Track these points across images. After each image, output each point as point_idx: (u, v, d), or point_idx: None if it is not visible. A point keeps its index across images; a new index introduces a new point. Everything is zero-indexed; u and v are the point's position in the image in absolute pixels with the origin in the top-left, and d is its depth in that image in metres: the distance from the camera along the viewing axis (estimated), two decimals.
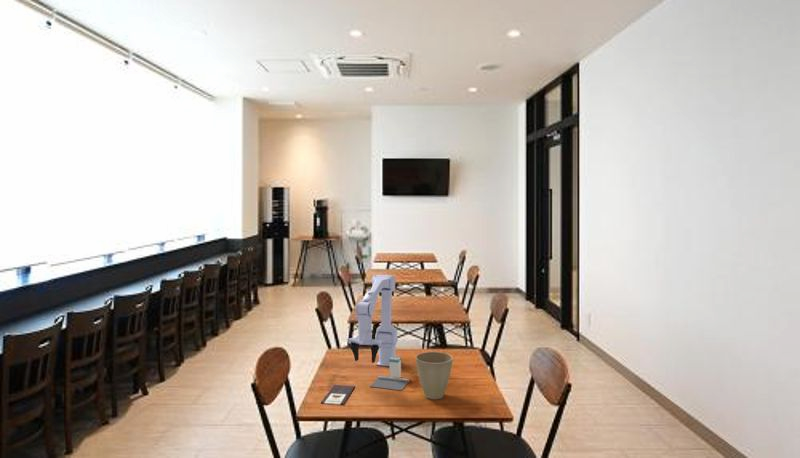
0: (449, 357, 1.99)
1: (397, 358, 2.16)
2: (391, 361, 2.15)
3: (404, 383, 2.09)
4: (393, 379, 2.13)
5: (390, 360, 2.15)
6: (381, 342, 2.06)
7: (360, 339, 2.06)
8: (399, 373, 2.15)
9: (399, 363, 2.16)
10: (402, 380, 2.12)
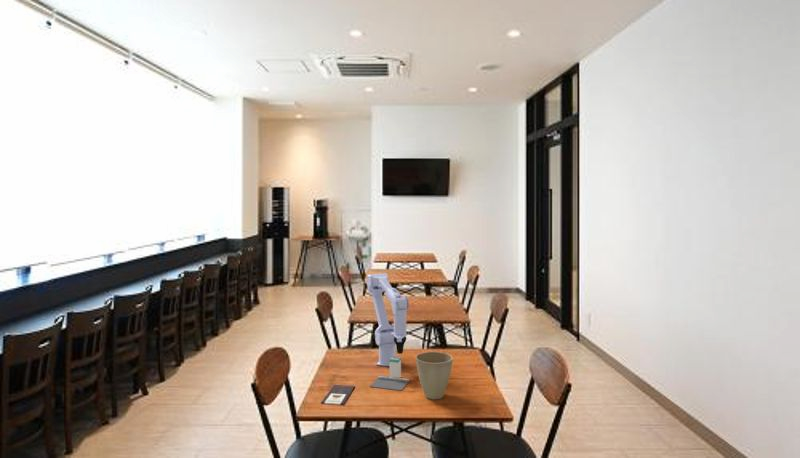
0: (449, 357, 1.99)
1: (397, 358, 2.16)
2: (391, 361, 2.15)
3: (404, 383, 2.09)
4: (393, 379, 2.13)
5: (390, 360, 2.15)
6: (400, 339, 2.15)
7: None
8: (399, 373, 2.15)
9: (399, 363, 2.16)
10: (402, 380, 2.12)
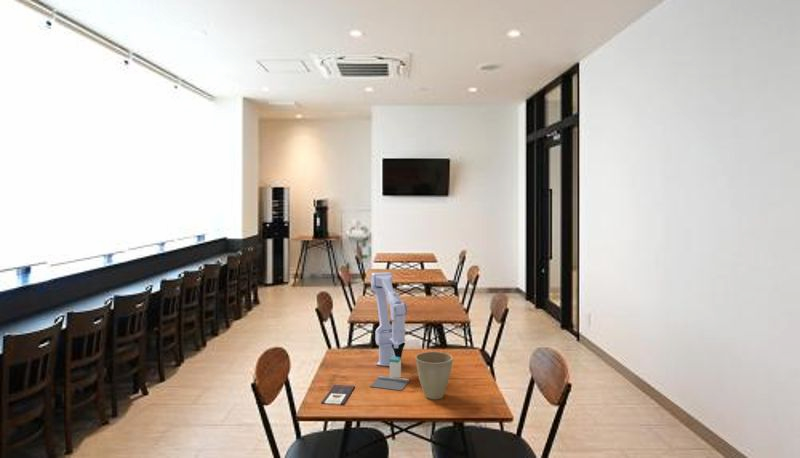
0: (449, 357, 1.99)
1: (397, 358, 2.16)
2: (391, 361, 2.15)
3: (404, 383, 2.09)
4: (393, 379, 2.13)
5: (390, 360, 2.15)
6: (397, 345, 2.13)
7: None
8: (399, 373, 2.15)
9: (399, 363, 2.16)
10: (402, 380, 2.12)
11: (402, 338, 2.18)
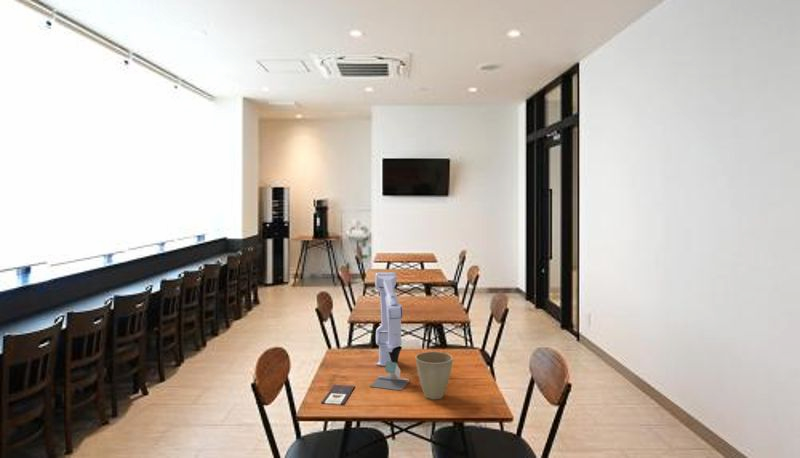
0: (449, 357, 1.99)
1: (392, 367, 2.10)
2: (387, 371, 2.10)
3: (404, 383, 2.09)
4: (393, 379, 2.13)
5: (386, 371, 2.10)
6: (390, 349, 2.08)
7: None
8: (398, 374, 2.14)
9: (396, 369, 2.11)
10: (402, 380, 2.12)
11: (397, 342, 2.12)
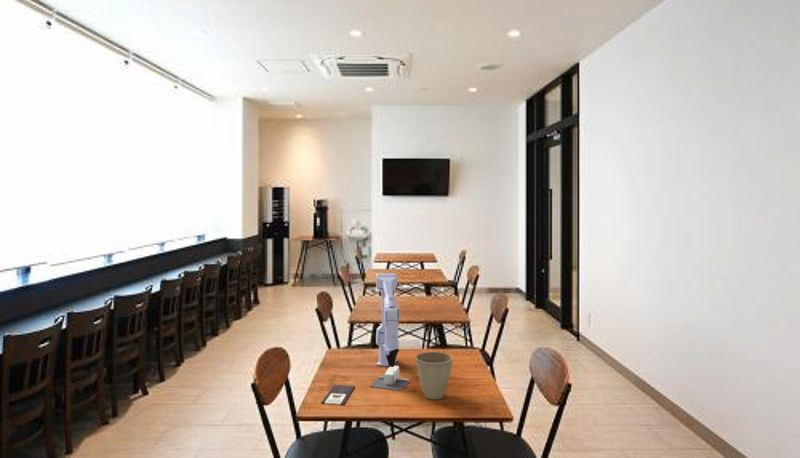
0: (449, 357, 1.99)
1: (390, 380, 2.07)
2: None
3: (404, 383, 2.09)
4: None
5: None
6: (387, 351, 2.04)
7: None
8: (397, 374, 2.13)
9: (394, 378, 2.09)
10: (402, 380, 2.12)
11: (394, 344, 2.08)
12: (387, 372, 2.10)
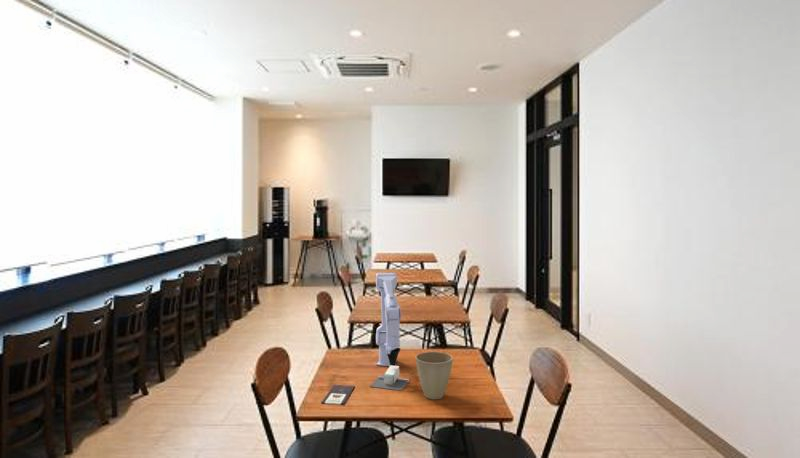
0: (449, 357, 1.99)
1: (390, 380, 2.07)
2: None
3: (404, 383, 2.09)
4: None
5: None
6: (388, 350, 2.06)
7: None
8: (397, 374, 2.13)
9: (394, 378, 2.09)
10: (402, 380, 2.12)
11: (396, 343, 2.10)
12: (387, 372, 2.10)
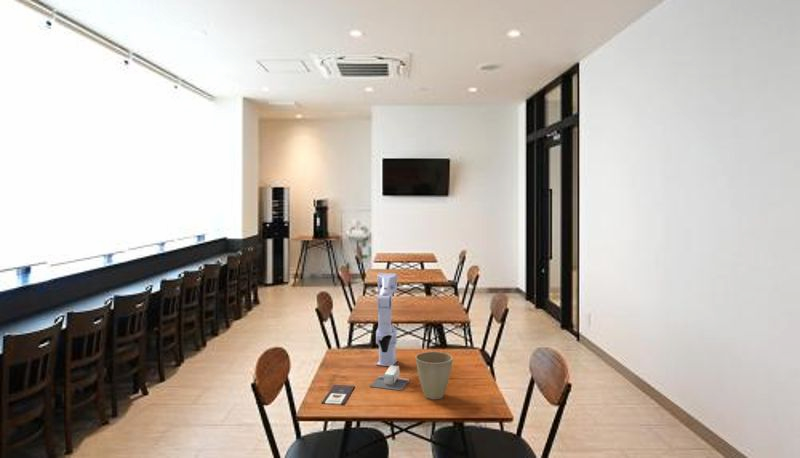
0: (449, 357, 1.99)
1: (390, 380, 2.07)
2: None
3: (404, 383, 2.09)
4: None
5: None
6: (380, 337, 2.13)
7: None
8: (397, 374, 2.13)
9: (394, 378, 2.09)
10: (402, 380, 2.12)
11: (387, 330, 2.18)
12: (387, 372, 2.10)
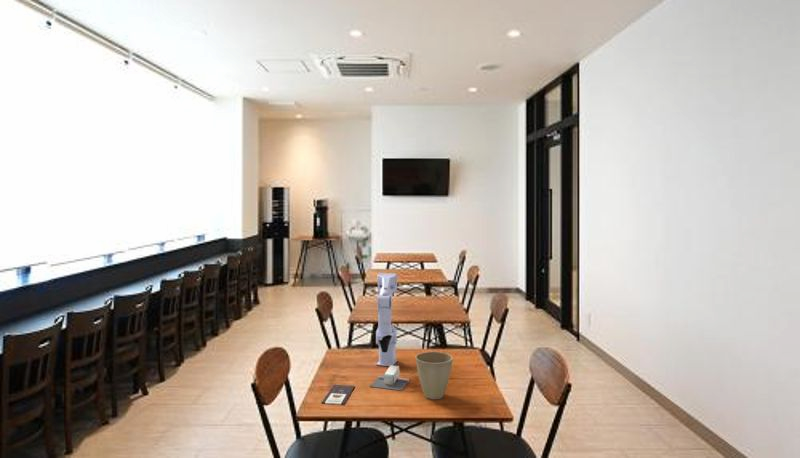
0: (449, 357, 1.99)
1: (390, 380, 2.07)
2: None
3: (404, 383, 2.09)
4: None
5: None
6: (380, 337, 2.13)
7: None
8: (397, 374, 2.13)
9: (394, 378, 2.09)
10: (402, 380, 2.12)
11: (387, 330, 2.18)
12: (387, 372, 2.10)
